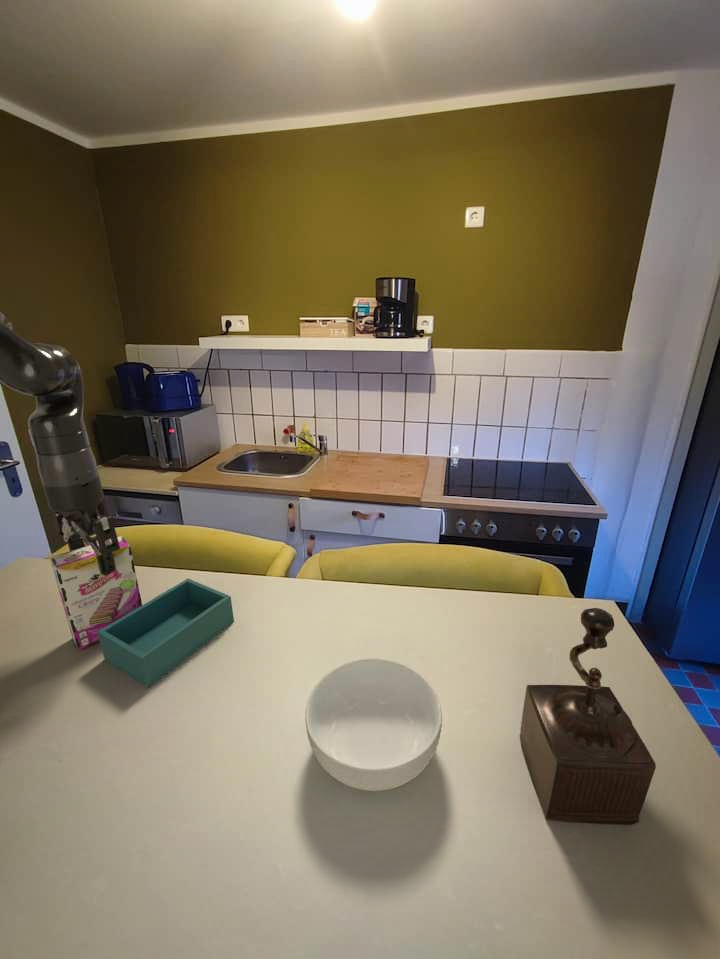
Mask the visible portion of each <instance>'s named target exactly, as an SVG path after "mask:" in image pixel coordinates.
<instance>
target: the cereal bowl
mask: <svg viewBox="0 0 720 959" xmlns="http://www.w3.org/2000/svg"><path fill="white" fill-rule="evenodd" d="M442 712H443V711H442V705H441V702H440V699H439V697H438V694H437V692H436V691H435V689H434V687H433V686H432V685H431V683H430V682H429V681H428V679H427V678H425V676H423V675H422V674H421V673H420V672H418V671H417V670H415V669H414V668H412V667H410V666H409V665H406V664H404V663H401V662H399V661H395V660H392V659H387V658H380V657H379V658H378V657H370V658H369V657H368V658H361V659H355V660H351V661H347V662H345V663H343V664H340V665H338V666H337V667H334V668H333V669H332V670H330V671H329V672H327V673H326V674H324V676H322V677H321V678H320V679H319V680H318V682H317V683H316V684H315V685H314V686H313V688H312V690H311V692H310V695H309V696H308V699H307V701H306V706H305V715H304V716H305V717H304V718H305V728H306V735H307V738H308V742H309V746H310V747H311V750H312V753H313V754H314V756H315V758H316V759H317V761H318V763H319V764H320V765H321V767H322V768H323V769H324V770H325V771H326V772H327V773H328V774H329V775H330V776H331V777H332V778H334V779H336V780H337V781H338V782H341V783H342V784H344V785H346V786H349V787H351V788H355V789H358V790H364V791H367V792H369V791H371V792H378V791H379V792H380V791H387V790H391V789H395V788H398V787H400V786H403V785H405V784H407V783H408V782H410V781H412V780H413V779H414V778H417V777H418V776H419V775H420V774H421V773H422V772H424V769H425V768H427V766H428V764H429V763H430V762H431V760H432V758H433V756H434V755H435V752H436V750H437V747H438V745H439V741H440V738H441V732H442V726H443V724H442V723H443V713H442Z"/></svg>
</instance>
